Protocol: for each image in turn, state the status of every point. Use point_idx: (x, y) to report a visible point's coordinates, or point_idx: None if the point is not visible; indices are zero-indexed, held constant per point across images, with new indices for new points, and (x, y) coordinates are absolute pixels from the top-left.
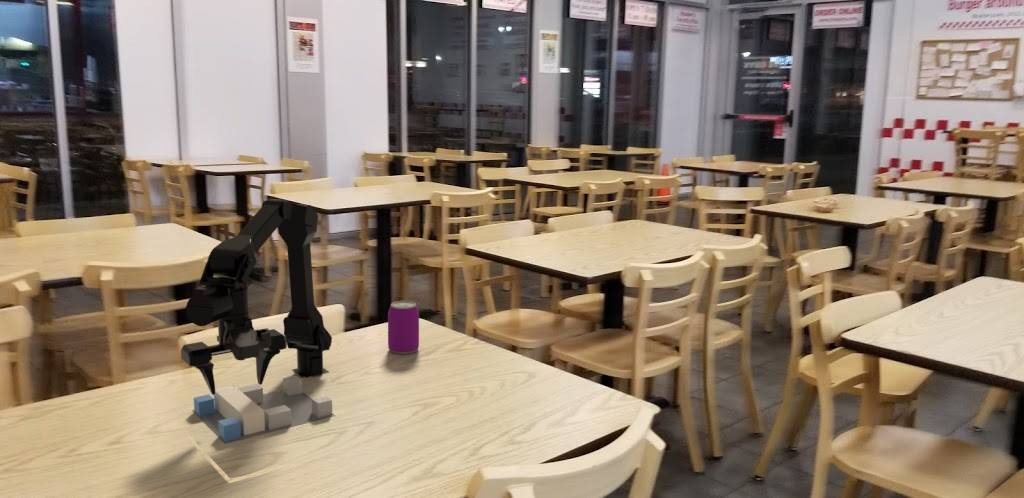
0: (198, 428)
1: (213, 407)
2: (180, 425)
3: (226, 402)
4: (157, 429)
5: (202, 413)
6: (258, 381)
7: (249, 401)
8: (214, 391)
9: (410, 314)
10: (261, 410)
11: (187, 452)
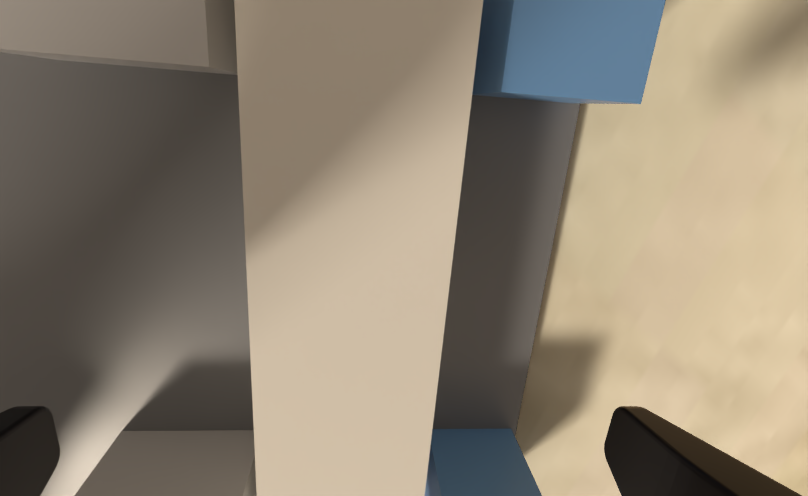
0: (565, 319)
1: (439, 457)
2: (606, 402)
3: (435, 375)
4: (700, 415)
5: (498, 439)
6: (34, 467)
7: (276, 255)
8: (655, 425)
9: None
10: None
11: (791, 38)
